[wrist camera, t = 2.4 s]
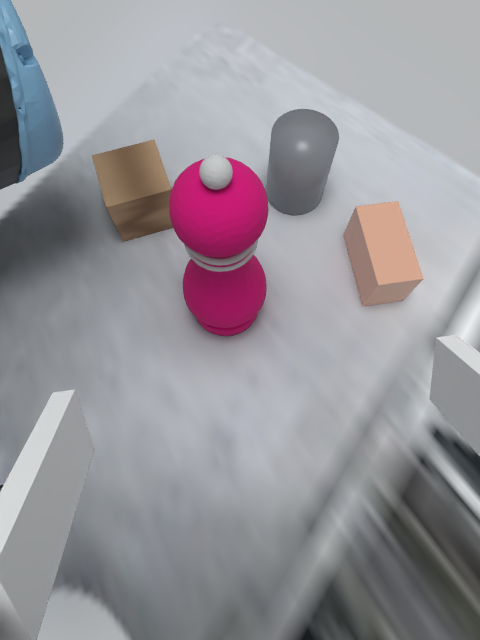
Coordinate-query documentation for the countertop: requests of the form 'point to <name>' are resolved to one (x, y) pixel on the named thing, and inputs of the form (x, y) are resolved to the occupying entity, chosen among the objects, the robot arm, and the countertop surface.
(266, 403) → the countertop surface
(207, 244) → the pepper mill
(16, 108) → the robot arm
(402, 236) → the terracotta brick
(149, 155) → the walnut block
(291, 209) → the charcoal canister
